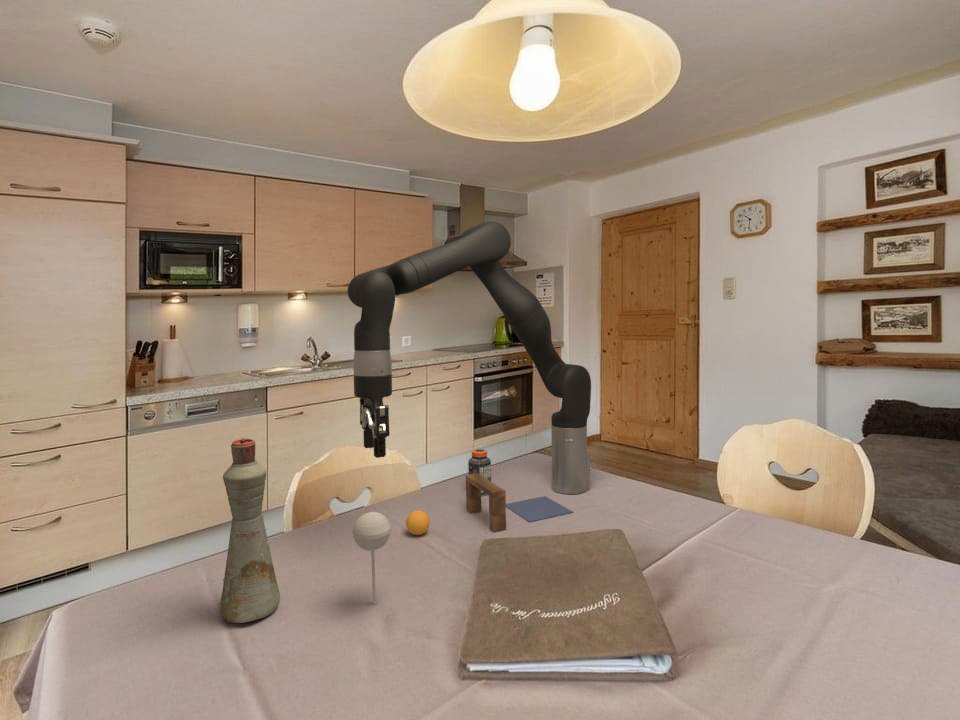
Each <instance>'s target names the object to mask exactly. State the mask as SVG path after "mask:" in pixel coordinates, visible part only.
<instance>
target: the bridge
mask: <svg viewBox="0 0 960 720" xmlns="http://www.w3.org/2000/svg"><path fill="white" fill-rule="evenodd" d="M481 491H483V492H484V493H486V494H487V495H486V496H488V509H489V510H488V513H489V514H488V517H489V530H490V531H491V532H492V533H499V532H502V531H506V530H507V510H506V509H507V507H506V504H507V503H506V500H507V499H506V489H504V488H502V487H501V486H499V485H497V484H496V483H494V482H492V480H491V481H489V480H487V479H486V478H484V477H483V476H481V475H479V474H478V473H476V474H469V473H468V474H465V497H466V498H465V499H466V500H465V501H466V503H465V504H466V506H465V507H466V512H467V513H468V514H476V513H480V512H482V496H481Z"/></svg>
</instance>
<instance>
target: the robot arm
mask: <svg viewBox="0 0 960 720" xmlns="http://www.w3.org/2000/svg"><path fill="white" fill-rule="evenodd" d="M507 229H508V228H507V227H506V226H504V224H503V223H500V222H498V221H494V220H493V221H492V220H491V221H485V222H482V223H479V224H477V225H475V226H472V227H470V228H467V229H466V230H464V231H463V232H462V233H461V234H460V236H459V239H456V240H453V241H452V242H449V243H446V244H442V245H439V246H436V247H432V248H430V249H426V250H423V251H421V252H417V253H414V254H412V255H409V256H407V257H404V258H401V259H400V260H399V259H398V260H397V261H395V262H393V263H391V264H389V265H385V266H382V267H378V268H375V269H371V270H369V271H365V272H362V273H359V274H357V275H355V276H354V277H353V278H352V279H351V280H350V282H349V283H348V287H347V296H348V299H349V300H350V302H351V303H353V305H354V306H357V307H358V308H361V314H360V320H358V322H356V323H355V325H354V329H353V331H354V332H353V347H354V352H353V360H352V361H353V395H354V396H355V398H359V424H360V426H361V428H362V431H363V447H364V448H365V449H373V456H374V458H376V459H378V458H384V457H386V455H387V453H386V452H387V449H386V448H387V447H386V443H387V442H386V438H387V437H390V434H391V433H390V416H389V415H390V413H389V410H390V408H389V404H387V405H384V400H383V399H384V398H388V397H390V396H392V394H393V374H392V373H393V370H392V368H393V367H392V365H393V363H392V355H391V338H390V336H391V333H390V327H391V324H392V321H393V320H392V319H393V315H394V310H395V305H396V304H395V303H396V297H397V296H399V295H407V294H410V293H413V292H415V291H418V290H420V289H422V288H424V287H427V286H429V285H432V284H433V283H436V282H438V281H441V280H442V279H444V278H446V277H449V276H450V275H452V274H455V273H457V272H458V271H461V270H463V269H466V268H470V269H471V270H472V272H473V273H474V275H476V277H477V278H478V279H479V280H480V281H481V284H483V286H484V287H485V288H486V290H487V291H488V293H489V294H490V296H491V297H492V299H493V300H494V302H495V304H496V305H497V306H498V308H499V309H500V311H501V312H502V314H503V316H504V318H505V319H506V321H507V323H508V325H509V326H510V328H511V329H512V331H513V332H514V334H515V335H516V336H517V338H518V339H519V341H520V343H521V344H522V346H523V348H524V349H525V351H526V352H527V354H528V356H529V357H530V359H531V360H532V362H533V364H534V366H535V368H536V370H537V372H538V374H539V376H540V378H541V380H542V383H543V384H544V386H545V388H546V390H547V391H548V392H549V394H551V395H552V396H553V397H555V398H558V399H561V405H560V406H561V407H560V409H559V410H558V411H556V412H554V413H552V415H551V419H550V420H551V423H550V425H551V429H550V430H551V433H550V435H551V489H552V490H553V491H554V492H557V493H560V494H564V495H565V494H566V495H578V494H582V493H585V492H586V491H587V490H590V489H591V454H590V453H589V452H588V419H589V417H590V416H589V415H590V412H591V402H592V401H591V399H592V380H591V375H590V372H589V371H588V369H587V368H586V367H584V366H582V365H579V364H571V363H566V362H564V360H563V359H562V358H561V356H560V355H559V353H558V352H557V350H556V348H555V347H554V344H553V341H552V340H553V339H552V325H551V322H550V318H549V316H548V314H547V312H546V310H545V309H544V307H543V305H542V304H541V302H540V300H539V299H538V297H537V296H536V295H535V294H534V293H533V292H532V291H530V290H529V289H528V288H527V287H526V286H524V285H523V284H522V283H520V282H519V281H517V279H515V278H514V277H512V276H511V275H510V273H508V271H507V270H506V269H505V268H504V266H503V264H502V263H501V262H500V260H503V258H505V257H506V256H507V254H508V253H509V251H510V250H511V249H510V248H511V245H512V240H511V238H512V237H511V235H510V232H509V230H507ZM380 429H381V430H380Z"/></svg>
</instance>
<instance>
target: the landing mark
mask: <svg viewBox="0 0 960 720" xmlns="http://www.w3.org/2000/svg"><path fill="white" fill-rule="evenodd" d="M506 509H508V510H510V511H512V513H515V514H516V515H517V516H519V517H521V518H522V519H524V520H525V521H527V522H528V523H533V522H538V521H541V520H546V519H550V518H554V517H559V516H564V515H568V514H573V513H574V511H572V510H571V509H569V508H568V507H566V506H564V505H562V504H560V503H559V502H556V501H554V500H553V499H551V498H549V497H548V496H546V495H545V496H544V495H543V496H540V497H539V496H538V497H535V498H528V499H523V500H519V501H514V502H510V503H509V502H508V503H506Z"/></svg>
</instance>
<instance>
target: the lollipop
mask: <svg viewBox="0 0 960 720" xmlns="http://www.w3.org/2000/svg"><path fill="white" fill-rule="evenodd" d="M352 528H353V529H352V537H353V539H354V542H355V544H356V545H357V546H358V547H359V548H360V549H363V550H365V551H368V552H371V554H370V555H371V578H372V580H371V581H372V582H371V583H372V604H373V605H376V604H377V592H376V589H377V588H376V565H375V564H376V563H375V551H377V550H379V549H382V548H383V547H384V546H385V545H386V543H388V541H389V539H390V536H391V532H392V529H391V528H392V527H391V524H390V521H389V520H388V518H387V517H386V516H385V515H384V514H382V513H380V512H376V511H370V512H366V513H364V514H362V515H361V516H360V517H359V518H358V519H357V520H356V521H355V523H354V525H353V527H352Z"/></svg>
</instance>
